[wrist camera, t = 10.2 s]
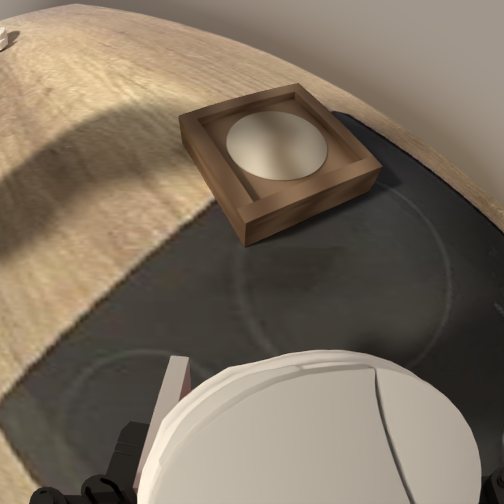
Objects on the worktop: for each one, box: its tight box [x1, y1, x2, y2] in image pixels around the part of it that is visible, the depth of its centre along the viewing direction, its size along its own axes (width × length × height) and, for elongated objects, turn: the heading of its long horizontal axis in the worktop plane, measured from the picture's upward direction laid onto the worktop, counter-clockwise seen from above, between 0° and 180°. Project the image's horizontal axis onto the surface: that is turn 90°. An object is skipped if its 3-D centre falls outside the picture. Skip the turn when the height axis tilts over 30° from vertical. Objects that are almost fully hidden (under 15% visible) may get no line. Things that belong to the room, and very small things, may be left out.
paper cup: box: [137, 350, 481, 504], centre depth 10 cm, size 8×8×14 cm
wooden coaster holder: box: [178, 83, 383, 247], centre depth 31 cm, size 15×15×4 cm
